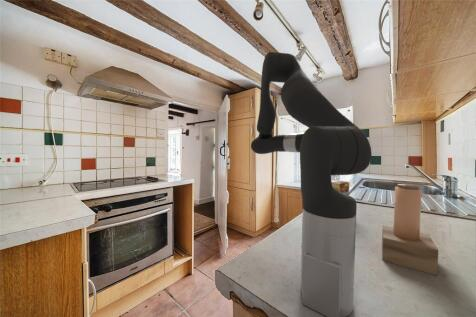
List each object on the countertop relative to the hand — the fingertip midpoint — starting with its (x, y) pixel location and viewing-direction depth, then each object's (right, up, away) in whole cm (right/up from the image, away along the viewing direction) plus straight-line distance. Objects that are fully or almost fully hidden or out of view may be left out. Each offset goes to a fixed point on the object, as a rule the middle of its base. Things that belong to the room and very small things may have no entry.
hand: (344, 141), depth 63 cm
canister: (+9, -27, -14) cm, 31 cm away
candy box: (+9, -32, +19) cm, 38 cm away
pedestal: (+9, -33, -13) cm, 36 cm away
